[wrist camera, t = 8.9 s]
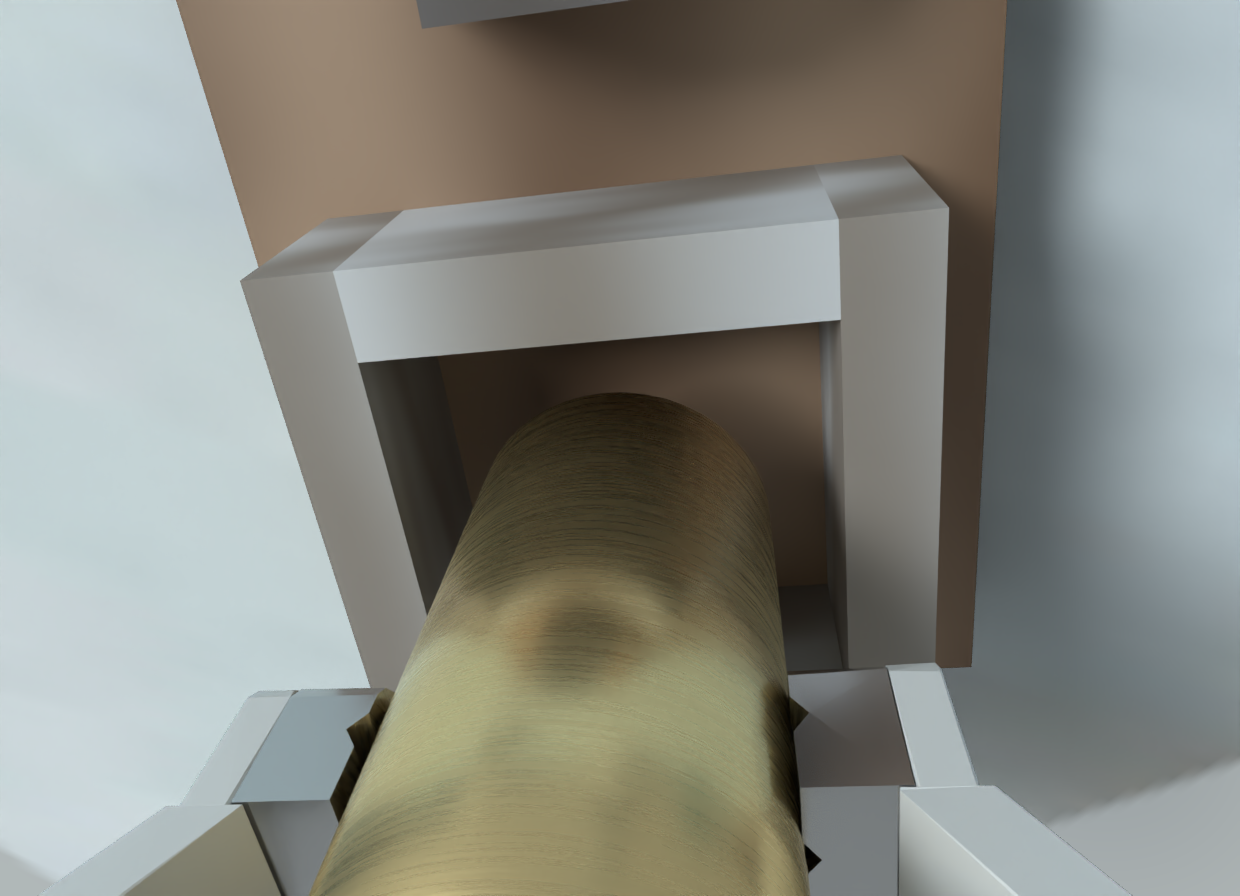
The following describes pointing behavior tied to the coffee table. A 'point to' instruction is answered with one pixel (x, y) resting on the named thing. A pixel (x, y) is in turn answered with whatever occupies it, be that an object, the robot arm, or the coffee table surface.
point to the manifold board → (628, 272)
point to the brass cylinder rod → (592, 681)
